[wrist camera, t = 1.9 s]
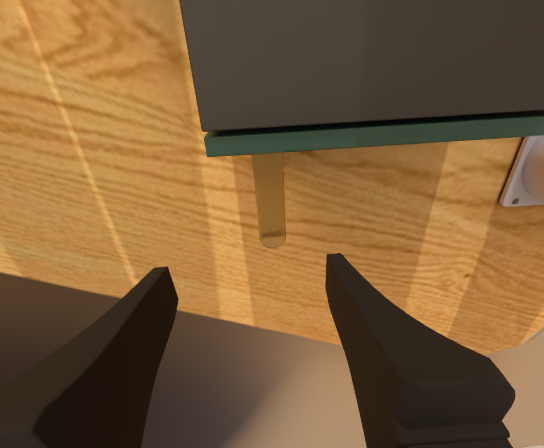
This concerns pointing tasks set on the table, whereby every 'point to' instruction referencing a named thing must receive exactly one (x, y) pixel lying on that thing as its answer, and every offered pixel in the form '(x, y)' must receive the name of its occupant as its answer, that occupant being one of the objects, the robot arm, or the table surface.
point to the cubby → (361, 60)
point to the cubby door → (277, 140)
